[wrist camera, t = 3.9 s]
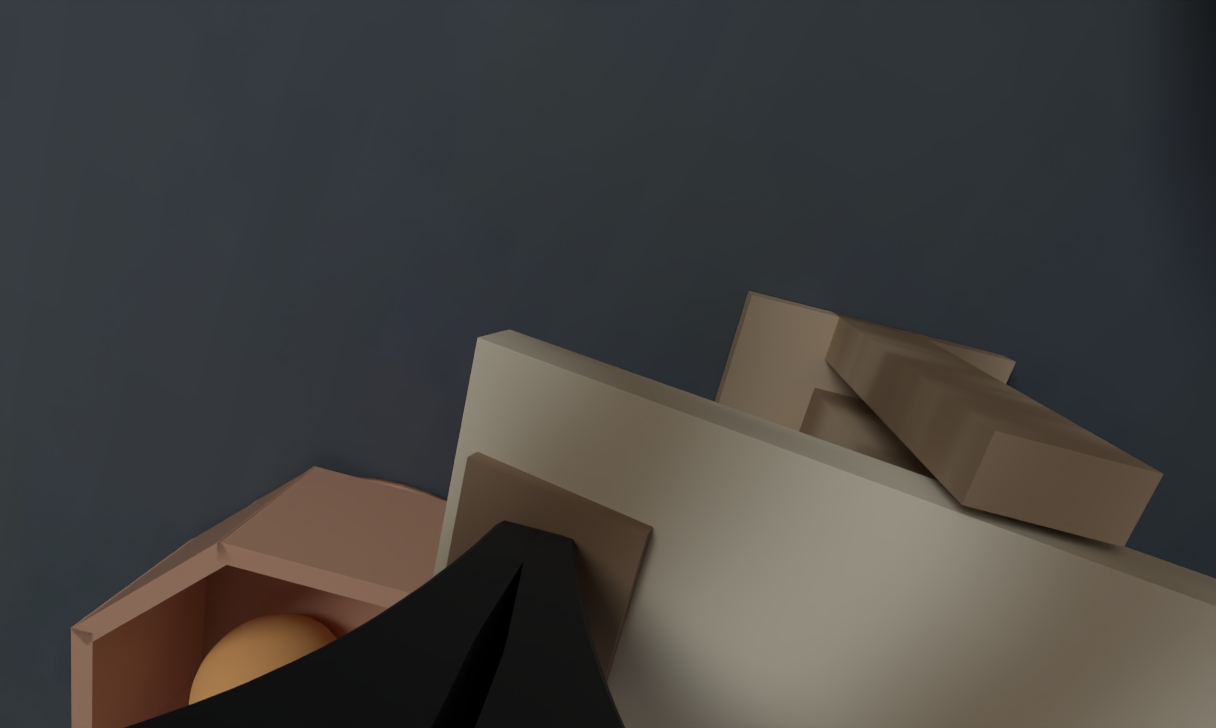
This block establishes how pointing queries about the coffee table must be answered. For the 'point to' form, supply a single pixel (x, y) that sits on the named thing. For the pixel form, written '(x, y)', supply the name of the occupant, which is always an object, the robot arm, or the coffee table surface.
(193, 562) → the octagonal bowl
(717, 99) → the coffee table surface
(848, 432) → the lever stand
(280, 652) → the ball
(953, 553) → the lever
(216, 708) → the robot arm
